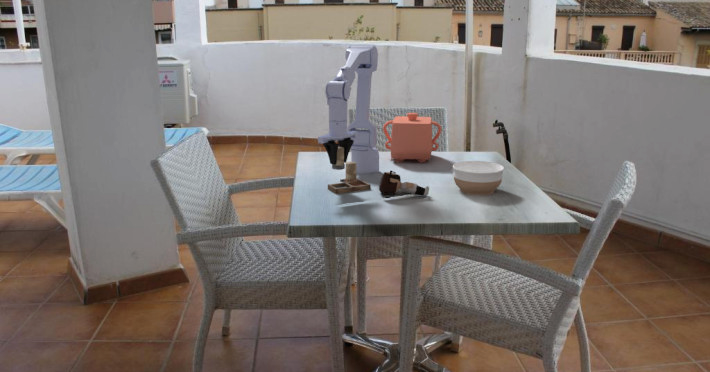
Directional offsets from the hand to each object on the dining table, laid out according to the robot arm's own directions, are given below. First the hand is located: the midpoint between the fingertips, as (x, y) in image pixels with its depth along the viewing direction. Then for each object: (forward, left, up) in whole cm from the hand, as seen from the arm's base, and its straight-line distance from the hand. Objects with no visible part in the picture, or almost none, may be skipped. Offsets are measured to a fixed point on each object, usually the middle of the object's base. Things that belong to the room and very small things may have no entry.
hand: (338, 163), depth 189 cm
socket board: (-3, +2, -9) cm, 10 cm away
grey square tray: (-7, -5, -9) cm, 12 cm away
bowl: (-40, +19, -9) cm, 45 cm away
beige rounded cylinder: (0, 0, -2) cm, 2 cm away
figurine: (-15, +15, -9) cm, 23 cm away
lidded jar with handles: (-47, -32, -9) cm, 57 cm away
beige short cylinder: (-7, -5, -8) cm, 12 cm away
